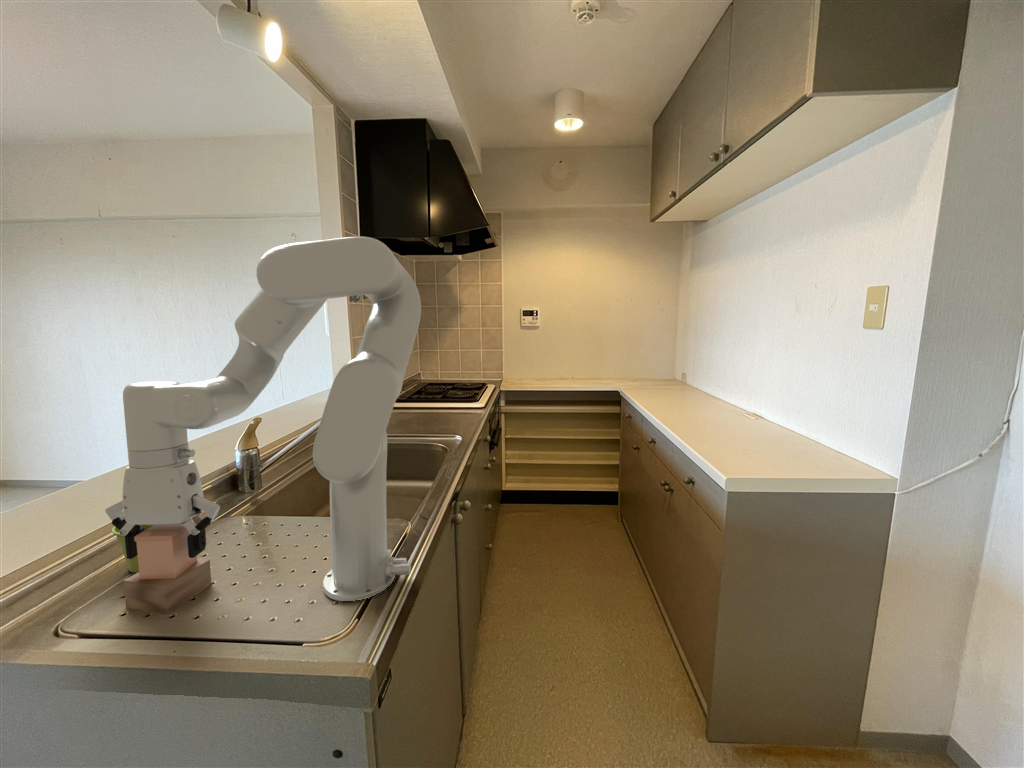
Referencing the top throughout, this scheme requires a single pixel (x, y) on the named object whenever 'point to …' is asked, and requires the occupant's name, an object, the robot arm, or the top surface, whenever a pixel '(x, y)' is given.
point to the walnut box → (167, 589)
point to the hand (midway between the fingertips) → (167, 554)
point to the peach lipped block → (163, 551)
